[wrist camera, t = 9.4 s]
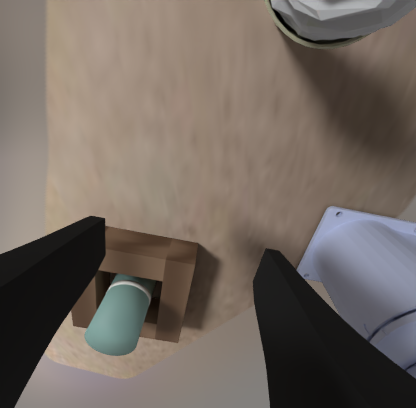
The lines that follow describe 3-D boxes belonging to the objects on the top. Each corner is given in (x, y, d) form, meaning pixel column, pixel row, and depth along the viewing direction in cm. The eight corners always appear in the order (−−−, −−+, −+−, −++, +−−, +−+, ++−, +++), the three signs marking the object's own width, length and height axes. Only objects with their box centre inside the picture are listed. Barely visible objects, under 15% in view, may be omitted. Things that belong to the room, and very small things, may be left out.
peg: (159, 262, 23) (138, 327, 17) (156, 290, 25) (136, 358, 18) (119, 256, 23) (82, 319, 16) (119, 285, 24) (86, 352, 18)
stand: (198, 243, 21) (195, 265, 19) (182, 317, 26) (178, 342, 24) (82, 221, 21) (62, 241, 18) (88, 301, 26) (73, 325, 23)
